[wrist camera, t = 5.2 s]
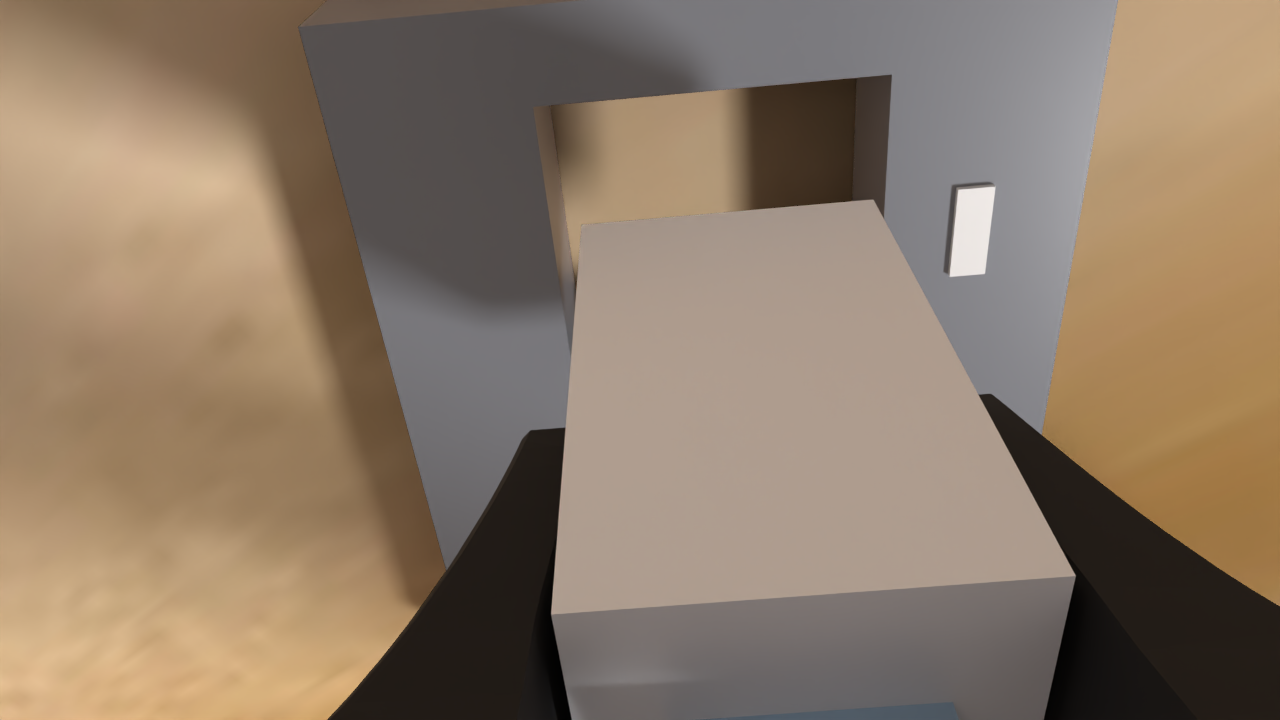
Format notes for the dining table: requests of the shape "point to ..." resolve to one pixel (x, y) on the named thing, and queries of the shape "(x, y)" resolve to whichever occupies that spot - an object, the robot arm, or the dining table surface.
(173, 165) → the dining table surface
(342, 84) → the port panel
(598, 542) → the plug
